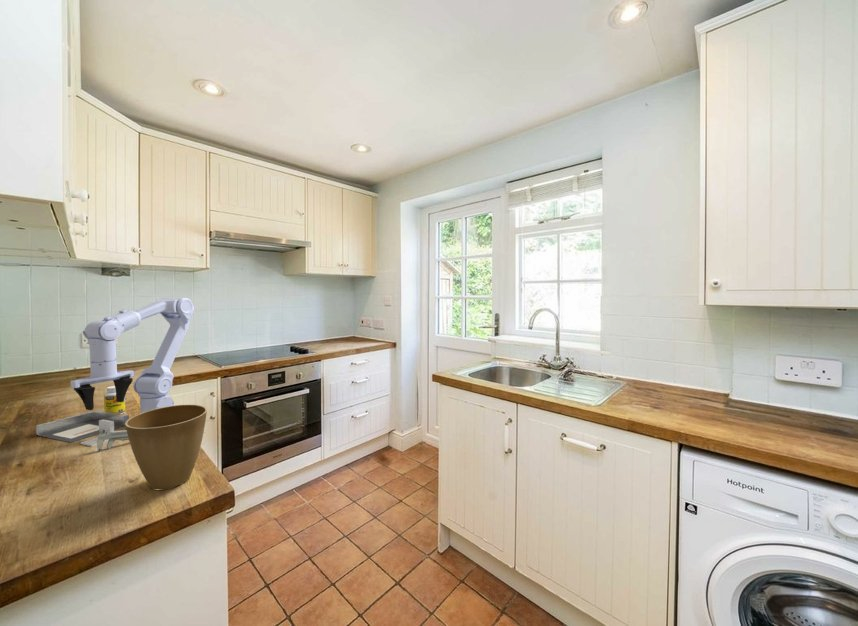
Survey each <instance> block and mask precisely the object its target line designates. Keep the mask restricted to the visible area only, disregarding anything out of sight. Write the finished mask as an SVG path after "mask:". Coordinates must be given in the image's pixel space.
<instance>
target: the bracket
mask: <svg viewBox="0 0 858 626" xmlns="http://www.w3.org/2000/svg"><path fill="white" fill-rule="evenodd" d="M109 428H110V432H109V433H111V432H112V431H115V429H114V421H109V420H103V419H102V420H99V433H102V432H103V429H105V431H107V430H108V429H109ZM97 439H98V436H97V437H94V438H93V437H92V438H89V439H87V440H83V441H81V442H80V445H81V444H82V445H83V446H86V445H87V447H92V446H93V447H96V446H97ZM108 440H109V439H107V440H104V442H103V444H104V443H108ZM82 445H81V446H82ZM95 445H96V446H95ZM93 447H92V448H93Z"/></svg>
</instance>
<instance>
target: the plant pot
mask: <svg viewBox="0 0 858 626" xmlns="http://www.w3.org/2000/svg"><path fill="white" fill-rule="evenodd" d="M207 413H208V409H207V407H206V406H203V405H199V404H177V405H175V404H174V406H168V407H162V408H157V409H153V410H150V411H146V412H143V413H138V414H135V415H134V416H131V417H129V419H128V420H127V421H126V422H125V426H124V427H125V430H127V434H128V438H129V440H128V441H129V445H130V448H131V450H132V453H133V456H134V458H135V459H134V460H135V461H136V463H137V465H138V468H139V470H140V472H141V473H142V475H143V477H144V479H145V481H146V482H147V484H148V485H149V487H150V488H151V489H152V490H154V489H166V490H169V489H168V488H170V489H173V488H172V487H174V488H176V487H175V486H177V487H178V485H179V486H181V485H183V484H184V482H185V483H186V482H187V481H189V480H190V479H191V476H192V473H193V471H194V468H195V465H196V463H197V459H198V456H199V453H200V449H201V446H202V441H203V438H204V433H205V427H206V420H207V419H206V418H207ZM182 483H183V484H182ZM180 484H181V485H180Z"/></svg>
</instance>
